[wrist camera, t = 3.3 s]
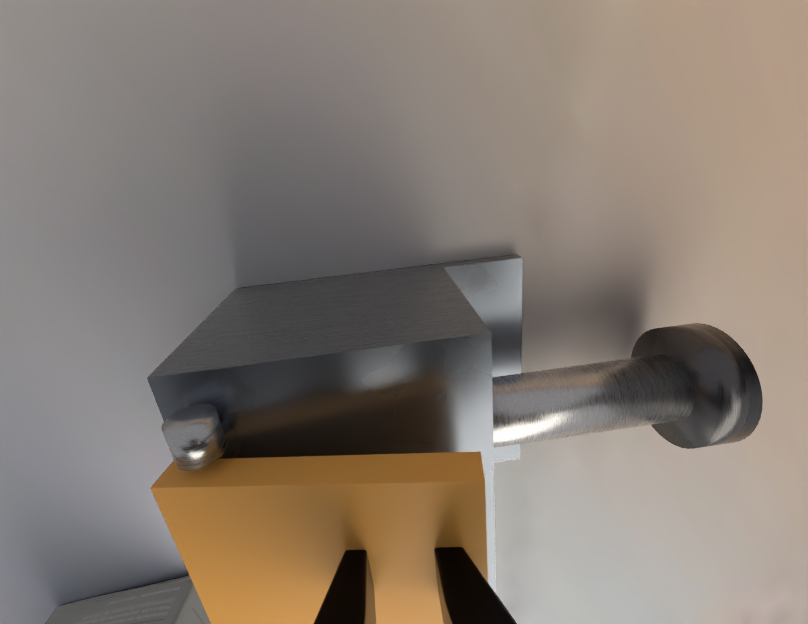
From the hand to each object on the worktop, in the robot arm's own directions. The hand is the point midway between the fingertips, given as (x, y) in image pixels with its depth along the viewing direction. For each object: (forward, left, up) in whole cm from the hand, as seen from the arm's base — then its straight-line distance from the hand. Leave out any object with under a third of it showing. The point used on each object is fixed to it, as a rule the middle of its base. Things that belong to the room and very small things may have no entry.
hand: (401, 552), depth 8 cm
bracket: (0, 0, -7) cm, 7 cm away
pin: (-4, 0, -6) cm, 7 cm away
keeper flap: (+1, 0, -1) cm, 1 cm away
